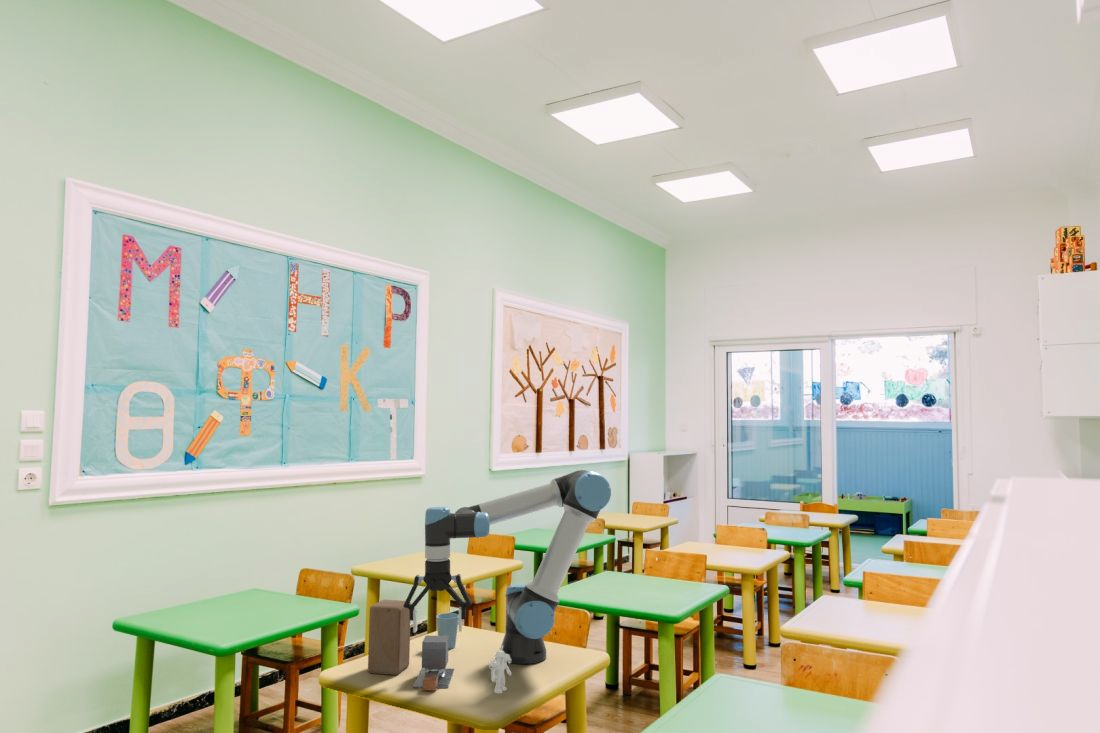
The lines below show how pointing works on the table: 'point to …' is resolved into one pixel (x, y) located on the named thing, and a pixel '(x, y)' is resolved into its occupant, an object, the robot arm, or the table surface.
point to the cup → (448, 627)
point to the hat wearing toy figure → (499, 669)
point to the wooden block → (389, 637)
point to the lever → (433, 678)
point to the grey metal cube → (435, 651)
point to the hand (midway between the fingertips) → (437, 630)
